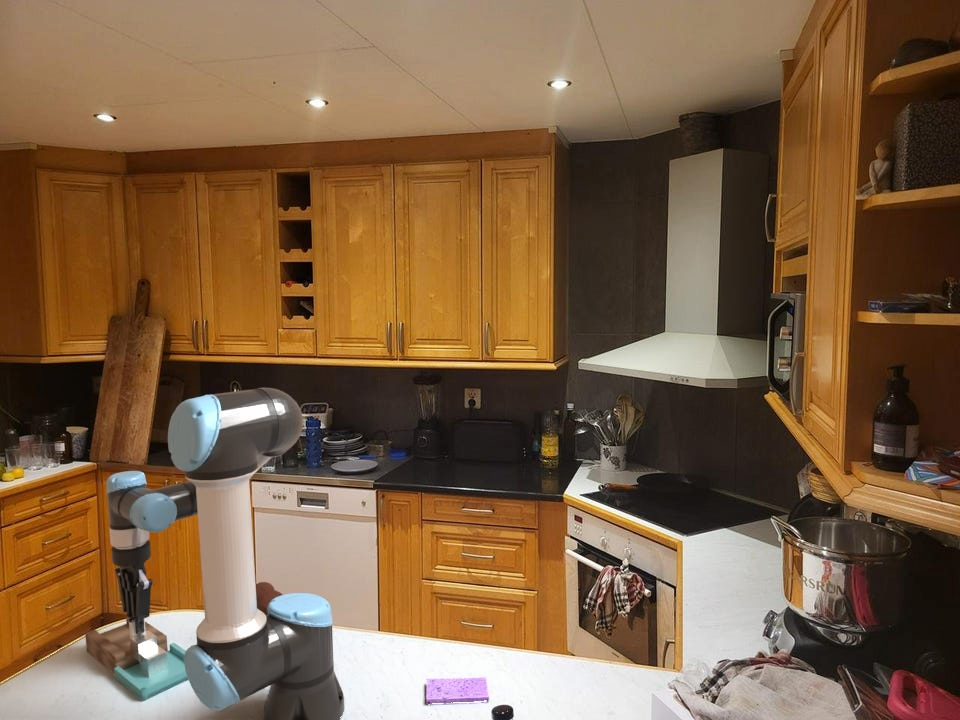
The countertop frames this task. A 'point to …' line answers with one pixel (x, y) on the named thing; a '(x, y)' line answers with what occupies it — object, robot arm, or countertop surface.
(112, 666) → the groove board
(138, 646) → the far block
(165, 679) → the tray
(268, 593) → the ice cream bowl
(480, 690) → the sponges
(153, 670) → the near block
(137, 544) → the robot arm
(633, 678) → the countertop surface
